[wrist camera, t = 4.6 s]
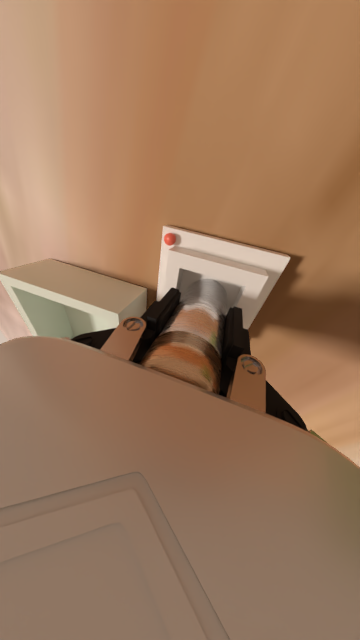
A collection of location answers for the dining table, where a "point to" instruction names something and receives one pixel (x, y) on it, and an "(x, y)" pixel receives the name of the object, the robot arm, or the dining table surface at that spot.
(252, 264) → the checker cradle
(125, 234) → the dining table surface
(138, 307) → the white open box
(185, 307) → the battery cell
